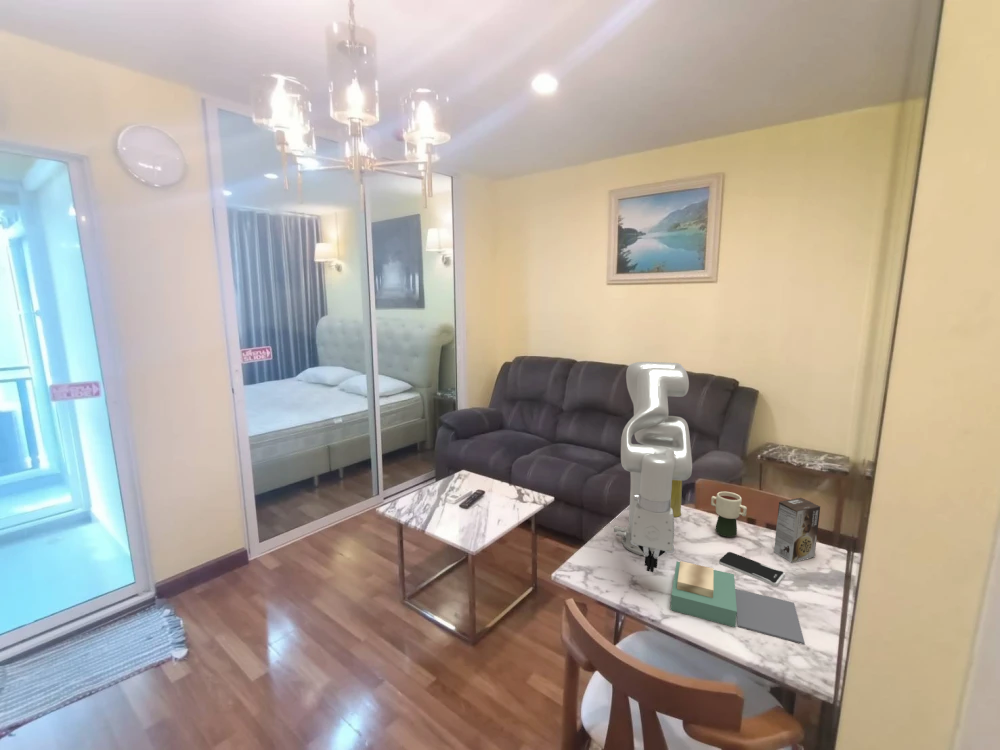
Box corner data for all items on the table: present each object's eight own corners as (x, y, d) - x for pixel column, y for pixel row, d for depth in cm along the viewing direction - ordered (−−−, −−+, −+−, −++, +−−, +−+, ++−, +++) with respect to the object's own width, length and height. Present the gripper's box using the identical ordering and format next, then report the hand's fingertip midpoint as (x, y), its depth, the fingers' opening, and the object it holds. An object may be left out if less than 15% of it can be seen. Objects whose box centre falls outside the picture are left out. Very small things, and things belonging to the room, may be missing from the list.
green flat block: (670, 609, 111) (671, 594, 110) (675, 574, 125) (676, 561, 124) (735, 627, 105) (736, 611, 104) (732, 588, 119) (734, 574, 119)
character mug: (748, 536, 146) (752, 498, 144) (738, 544, 141) (742, 504, 139) (713, 524, 154) (716, 487, 152) (703, 531, 149) (707, 493, 147)
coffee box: (795, 546, 140) (801, 497, 137) (815, 557, 134) (821, 506, 131) (772, 551, 137) (778, 500, 134) (792, 563, 131) (798, 510, 128)
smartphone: (728, 551, 136) (786, 572, 125) (728, 555, 136) (785, 577, 125) (718, 560, 131) (776, 584, 120) (717, 565, 131) (776, 588, 120)
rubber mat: (737, 626, 105) (737, 625, 105) (735, 590, 118) (735, 588, 118) (804, 644, 100) (804, 642, 100) (793, 604, 113) (794, 602, 113)
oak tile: (676, 589, 112) (677, 581, 112) (679, 567, 121) (680, 560, 121) (712, 597, 109) (713, 590, 109) (712, 575, 118) (713, 568, 118)
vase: (659, 509, 164) (662, 471, 162) (676, 509, 165) (678, 471, 163) (667, 517, 158) (670, 478, 156) (684, 517, 159) (687, 477, 157)
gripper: (622, 502, 116) (618, 569, 119) (685, 514, 110) (680, 584, 113) (627, 492, 123) (624, 555, 126) (687, 502, 117) (682, 568, 120)
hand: (650, 568), depth 119 cm, fingers closed
